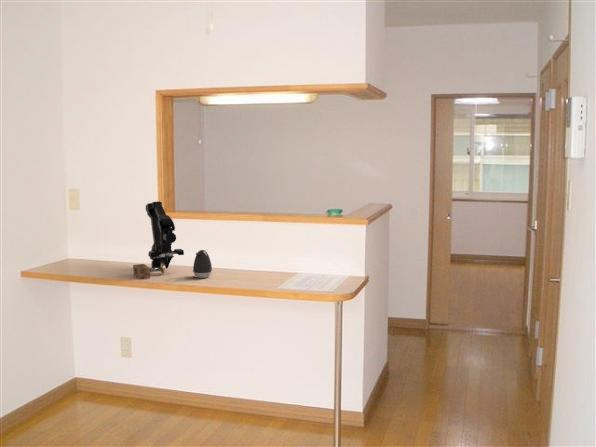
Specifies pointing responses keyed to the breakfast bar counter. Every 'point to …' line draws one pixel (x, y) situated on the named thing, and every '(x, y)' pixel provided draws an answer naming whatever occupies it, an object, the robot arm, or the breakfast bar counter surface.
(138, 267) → the block
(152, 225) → the robot arm
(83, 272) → the breakfast bar counter surface
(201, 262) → the black egg-shaped device
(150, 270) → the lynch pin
